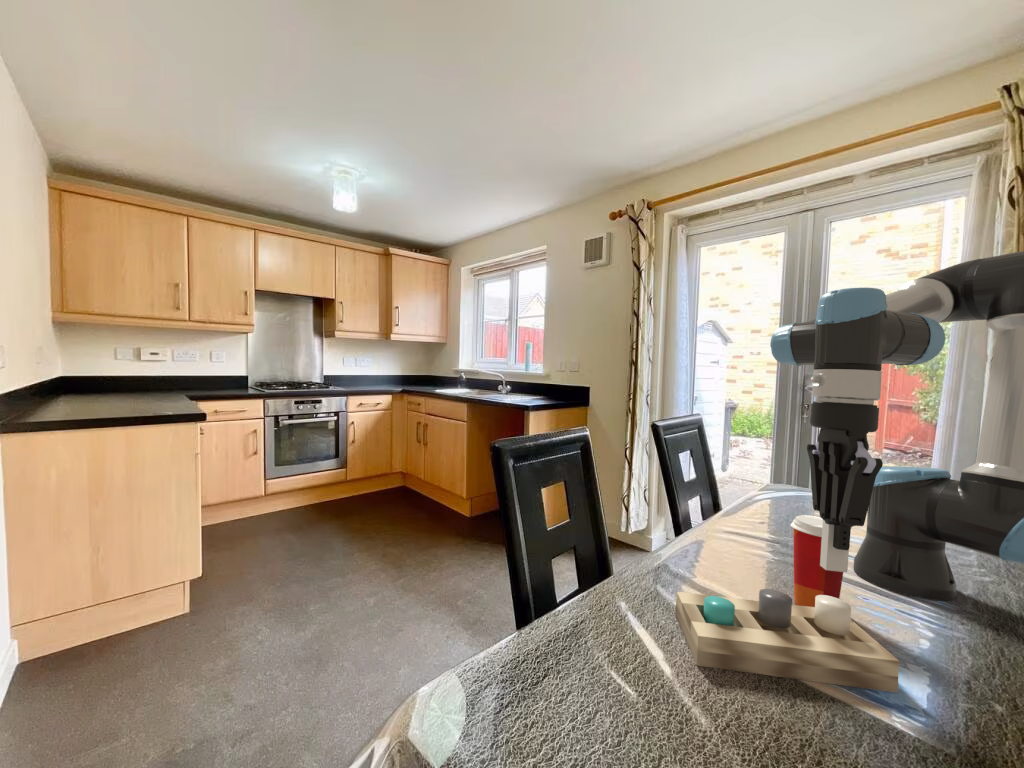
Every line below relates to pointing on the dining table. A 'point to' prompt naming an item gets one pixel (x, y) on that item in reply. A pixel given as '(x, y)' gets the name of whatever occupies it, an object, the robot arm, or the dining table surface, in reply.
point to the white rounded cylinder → (832, 614)
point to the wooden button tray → (785, 646)
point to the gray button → (775, 608)
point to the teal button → (718, 611)
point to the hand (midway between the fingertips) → (833, 568)
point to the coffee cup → (811, 563)
